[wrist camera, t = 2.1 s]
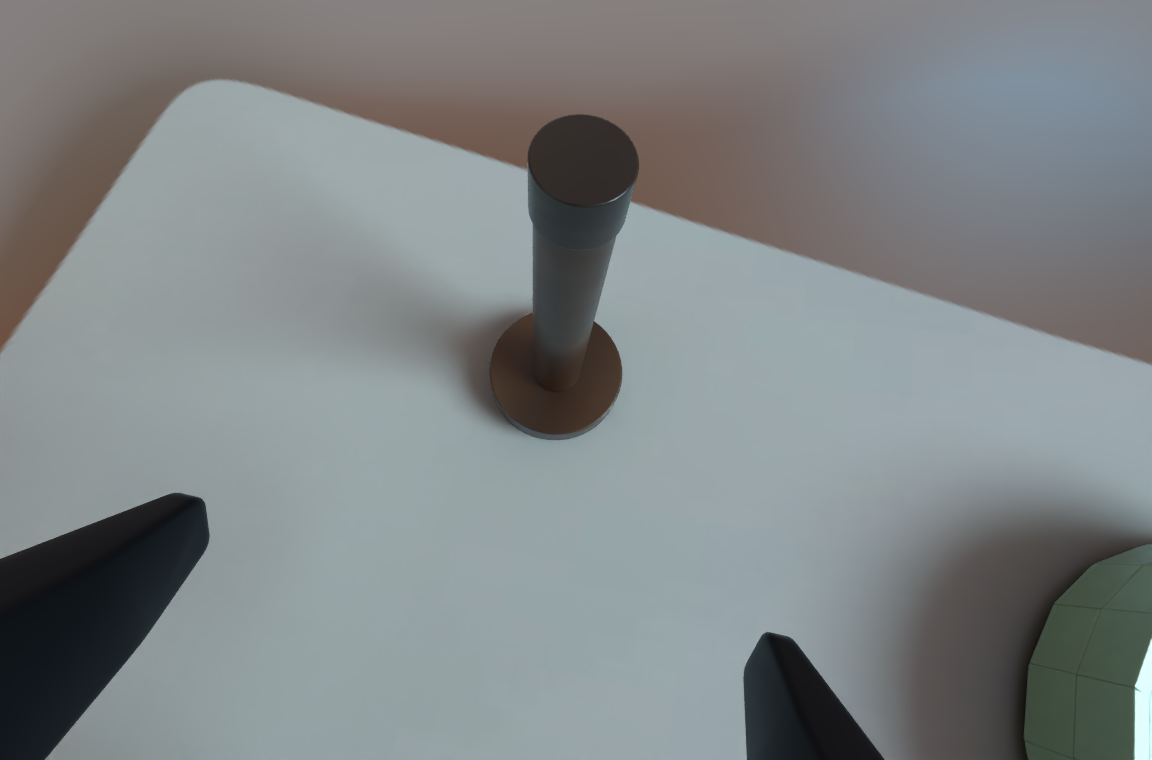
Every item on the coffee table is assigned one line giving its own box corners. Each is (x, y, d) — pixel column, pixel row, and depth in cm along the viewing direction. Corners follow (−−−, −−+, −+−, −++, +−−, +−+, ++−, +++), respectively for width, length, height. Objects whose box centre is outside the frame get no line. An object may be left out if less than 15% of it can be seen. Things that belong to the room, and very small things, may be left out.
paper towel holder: (471, 413, 23) (387, 226, 10) (519, 303, 25) (503, 15, 11) (594, 458, 23) (680, 329, 10) (634, 344, 25) (753, 99, 11)
